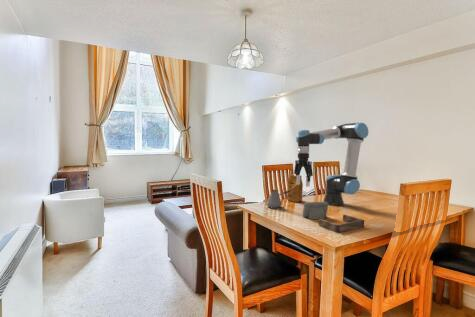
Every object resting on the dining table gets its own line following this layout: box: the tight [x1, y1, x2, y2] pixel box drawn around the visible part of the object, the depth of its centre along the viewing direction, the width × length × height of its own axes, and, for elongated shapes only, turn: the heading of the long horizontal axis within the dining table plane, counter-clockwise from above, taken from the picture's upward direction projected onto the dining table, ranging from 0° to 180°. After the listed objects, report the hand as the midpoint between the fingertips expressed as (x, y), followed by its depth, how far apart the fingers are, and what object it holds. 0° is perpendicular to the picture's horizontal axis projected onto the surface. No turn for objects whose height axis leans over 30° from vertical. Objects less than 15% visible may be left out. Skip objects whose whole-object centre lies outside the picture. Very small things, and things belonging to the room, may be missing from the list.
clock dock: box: [318, 214, 365, 234], centre depth 149 cm, size 14×22×4 cm, turn 118°
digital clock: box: [302, 201, 329, 220], centre depth 167 cm, size 16×9×11 cm, turn 83°
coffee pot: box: [266, 189, 293, 209], centre depth 191 cm, size 21×12×15 cm, turn 46°
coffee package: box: [286, 174, 304, 203], centre depth 216 cm, size 10×12×22 cm
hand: (302, 185), depth 177 cm, fingers open, 9 cm apart
